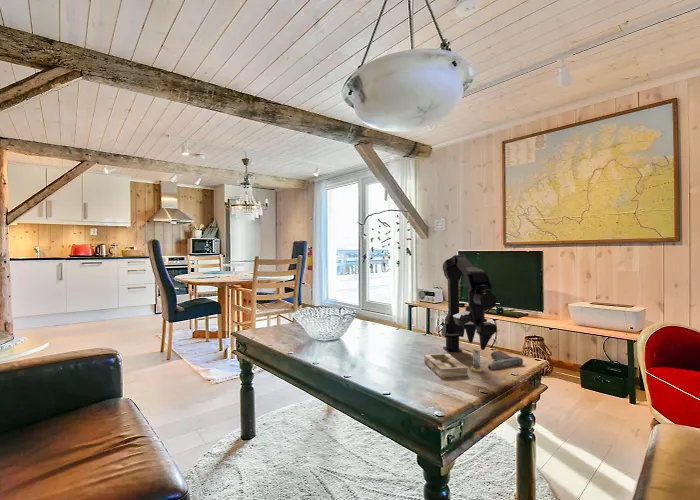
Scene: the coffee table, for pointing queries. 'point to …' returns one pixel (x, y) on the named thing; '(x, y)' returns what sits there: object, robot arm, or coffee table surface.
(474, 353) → the peg
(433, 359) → the keyhole board
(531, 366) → the coffee table surface
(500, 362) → the handgun
